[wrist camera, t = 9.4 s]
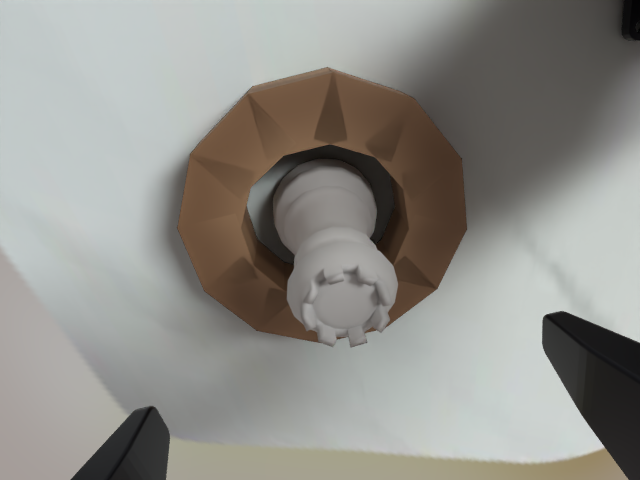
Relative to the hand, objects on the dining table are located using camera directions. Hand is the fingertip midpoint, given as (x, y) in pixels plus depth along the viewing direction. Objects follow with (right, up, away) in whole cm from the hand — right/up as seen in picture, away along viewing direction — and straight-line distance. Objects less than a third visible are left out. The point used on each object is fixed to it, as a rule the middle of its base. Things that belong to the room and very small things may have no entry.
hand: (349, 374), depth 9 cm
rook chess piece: (-1, +5, +9) cm, 10 cm away
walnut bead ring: (-1, +5, +9) cm, 10 cm away
